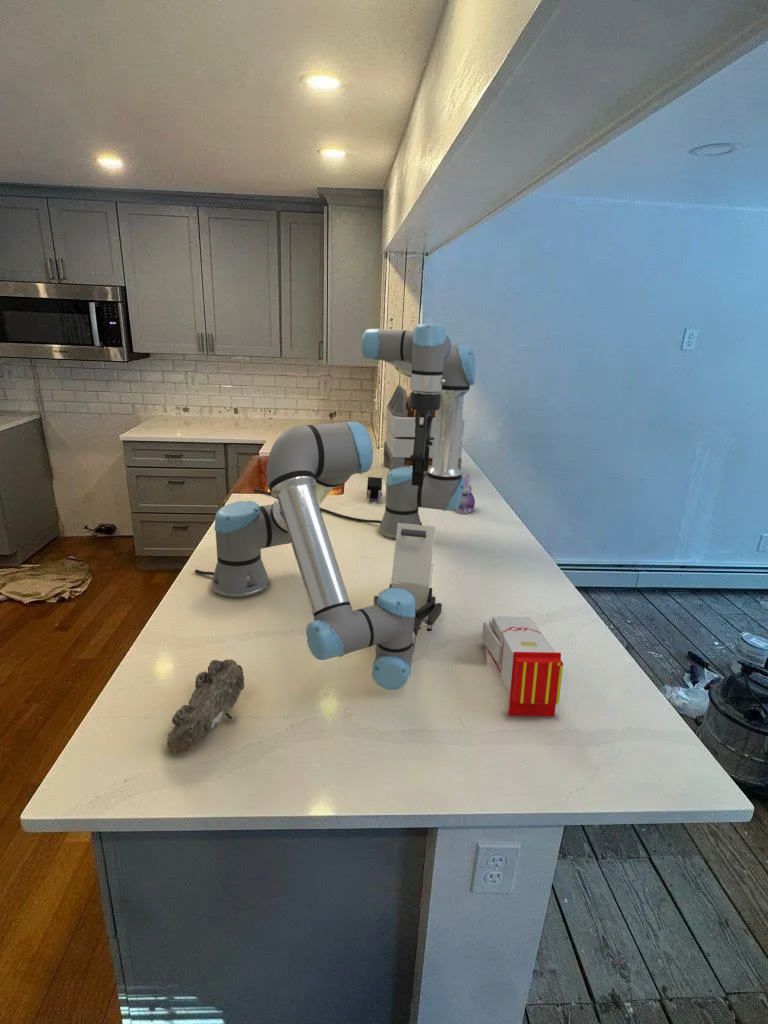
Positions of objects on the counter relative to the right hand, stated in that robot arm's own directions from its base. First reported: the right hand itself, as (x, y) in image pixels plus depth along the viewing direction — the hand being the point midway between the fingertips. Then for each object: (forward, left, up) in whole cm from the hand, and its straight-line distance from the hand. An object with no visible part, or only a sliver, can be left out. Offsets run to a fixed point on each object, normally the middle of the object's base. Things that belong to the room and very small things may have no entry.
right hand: (420, 477), depth 142 cm
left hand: (+4, -4, -29) cm, 29 cm away
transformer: (-91, +91, -35) cm, 133 cm away
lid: (+4, -4, -19) cm, 19 cm away
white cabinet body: (+2, -2, -35) cm, 35 cm away
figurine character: (-73, +47, -35) cm, 94 cm away
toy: (+38, -5, -35) cm, 52 cm away
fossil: (+11, -62, -35) cm, 72 cm away
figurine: (-42, +68, -35) cm, 88 cm away
